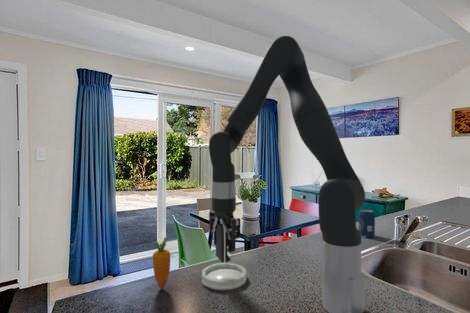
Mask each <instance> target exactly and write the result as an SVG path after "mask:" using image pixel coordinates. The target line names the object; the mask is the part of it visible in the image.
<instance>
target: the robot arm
mask: <svg viewBox="0 0 470 313" xmlns="http://www.w3.org/2000/svg"><path fill="white" fill-rule="evenodd" d="M305 59H306V58H305V55H304V52H303V50H302V48H301V46H300V45H299V43H298V42H297V40H296V39H295V38H294V37H292V36H289V35H282V36H279V37H278V38H276V39H275V40H273V41H272V43H271V44H270V46H269V47H268V49H267V50H266V53H265V54H264V57H263V59H262V61H261V63H260V64H259V67H258V69H257V71H256V72H255V73H254V74H255V75H254V76H253V78H252V80H251V82H250V84H249V85H248V87H247V88H246V90H245V92H244V94H243V95H242V96H241V98H240V100H239V101H238V102H237V104H236V105H235V107H234V108H233V110H232V111H231V112H230V114H229V116H228V117H227V124H226V126H225V127H224V129H223V131H222V130H221V131H216V132H214V133H213V134H212V135H211V136H210V138H209V142H208V152H209V157H210V163H211V166H212V174H211V175H212V184H211V210H212V211H210V212H209V213H208V217H209V218H208V221H209V222H208V223H209V226H208V228H209V230H210V231H212V234H213V245H214V246H216V227H217V223H221V224H222V225H223V226H224V227H225V232H226V233H227V237H228V246H227V252H229V253H233V252H235V251H236V240H237V239H240V238H241V218H237V217H234V213H235V211H237V199H236V198H237V197H236V196H237V190H236V181H235V180H236V177H235V176H236V174H235V173H236V171H235V170H236V169H235V164H234V163H233V162H232V153H233V152H234V151H236V149H237V148H238V146H240V143H241V141H242V140H243V138H244V136H245V134H246V132H247V130H249V128H250V127H251V126H252V124H253V122H254V121H255V120H256V119H257V117H258V115H259V114H260V113H261V111H262V108H263V107H264V104H265V101H266V98H267V96H268V94H269V91H270V90H271V88H272V85H273V84H274V83H275V81H276V79H277V78H278V77H279V76H280V79H281V80H282V83H283V84H284V86H285V88H286V90H287V93H288V95H289V101H290V108H291V109H290V110H291V115H292V118H293V121H294V124H295V126H296V129H297V131H298V135H299V136H300V139H301V140H302V142H303V143H304V145H305V146H306V148H307V149H308V150H309V152H310V153H312V155H313V156H314V158H315V159H316V160H317V161H318V163H319V164H320V166H321V168H322V169H323V172H324V175H325V178H326V181H325V182H323V183H322V185H321V186H320V188H319V191H318V199H317V201H318V202H317V205H318V224H319V228H320V231H321V235H322V237H321V238H322V307H323V309H324V310H325V311H326V312H328V313H365V311H366V297H365V296H366V290H365V289H366V286H365V285H366V282H365V280H366V274H365V273H364V272H362V237H361V232H360V231H359V228H358V227H357V219H356V218H357V217H356V215H357V214H356V213H357V212H356V211H358V210H359V209H361V208H362V207H363V205H364V203H365V200H366V192H365V189H364V186H363V184H362V182H361V180H360V178H359V176H358V175H357V173H356V172H355V170H354V168H353V167H352V165H351V163H350V161H349V159H348V157H347V154H346V153H345V150H344V147H343V145H342V143H341V140H340V138H339V135H338V132H337V130H336V128H335V125H334V123H333V120H332V118H331V116H330V113H329V110H328V108H327V106H326V105H325V103H324V100H323V99H322V97H321V96H320V94H319V92H318V91H317V89H316V87H315V85H314V84H313V82H312V79H311V76H310V73H309V69H308V66H307V63H306V60H305ZM226 226H231V227H232V229H227V227H226ZM230 232H231V235H230Z"/></svg>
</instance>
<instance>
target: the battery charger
mask: <svg viewBox="0 0 470 313" xmlns="http://www.w3.org/2000/svg"><path fill="white" fill-rule="evenodd" d="M226 227H227V229H232V227H231V226H226ZM230 235H231V232H230ZM215 255H216V257H217V259H219V261H220V263H229V262H230V261H231V257H230V256H229V254H228V237H227V233H226V232H225V227H224V226H223V225H222V224H221V223H217V227H216V245H215Z"/></svg>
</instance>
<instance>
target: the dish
mask: <svg viewBox="0 0 470 313" xmlns="http://www.w3.org/2000/svg"><path fill="white" fill-rule="evenodd" d="M247 277H248V272H247V270H246V268H245V267H244V266H242V265H241V264H240V265H239V264H238V263H231V262H225V263H224V262H218V263H217V262H216V263H213V264H210V265H207V266H206V267H205V268H203V269H202V270H201V283H202V284H203V285H204V287H207V288H209V289H211V290H217V291H228V290H235V289H237V288H238V289H239V288H240V287H242V286H244V284H246V282H247Z"/></svg>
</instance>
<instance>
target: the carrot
mask: <svg viewBox="0 0 470 313" xmlns="http://www.w3.org/2000/svg"><path fill="white" fill-rule="evenodd" d="M167 238H168V237H166V236H165V237H163V240H162V242H161V243H160V244H159V241H158V240H155V241H154V242H153V244H154V246H155V247H156V249H157V250H156V251H154V253H152V265H153V266H152V267H153V274H154V275H153V276H154V278H155V281H156V284H157V285H158V287H159V289H161V290H163V289H164V288H165V286H166V285H167V282H168V279H169V275H170V270H171V252H170V251H169V250H167V249H166V245H167V240H168V239H167Z"/></svg>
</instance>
